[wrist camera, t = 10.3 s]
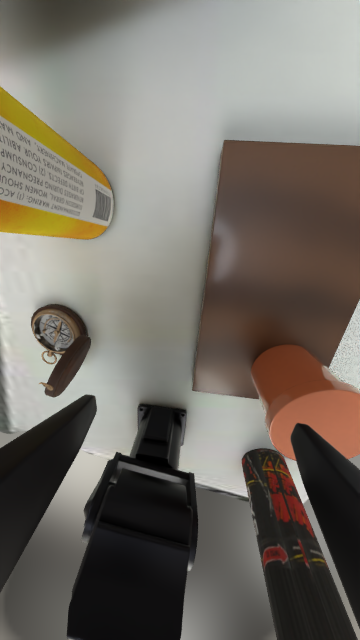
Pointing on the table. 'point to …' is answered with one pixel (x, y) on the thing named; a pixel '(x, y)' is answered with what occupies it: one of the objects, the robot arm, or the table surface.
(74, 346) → the compass
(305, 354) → the terracotta pot
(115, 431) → the table surface
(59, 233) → the beer can
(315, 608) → the deodorant
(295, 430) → the robot arm
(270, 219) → the walnut board
